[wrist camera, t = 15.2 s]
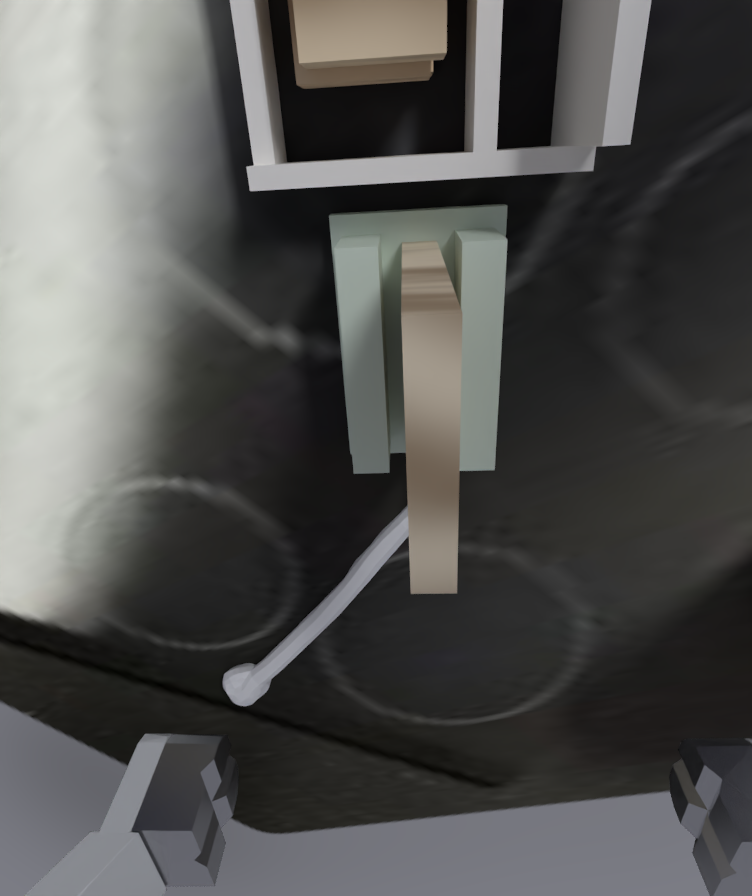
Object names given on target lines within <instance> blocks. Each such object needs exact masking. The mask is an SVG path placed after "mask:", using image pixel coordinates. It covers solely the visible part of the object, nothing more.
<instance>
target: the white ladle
mask: <svg viewBox="0 0 752 896" xmlns="http://www.w3.org/2000/svg"><path fill="white" fill-rule="evenodd" d="M408 536H409V528H408V505H407V506H406V507H405V508H404V509H403V510H402V511H401V513H400V514H399V515H398V516H397V517H396V518H395V519H393V520H392V521H391V522H390V523H389V524H388V525H387V526H386V527H385V528H384V529H383V530H382V531H381V532H380V533H379V535H378V536H377V537H376V538H375V540H374V541H373V542H372V544H371V545H370V546H369V547H368V548H367V549H366V550H365V551H364V552H363V553H362V554H361V555H360V556H359V557H358V558H357V559H356V560H355V562H354V563H353V565H352V567H351V568H350V570H349V571H348V573H347V575H346V576H345V578H344V579H343V580H342V581H341V582H340V583H339V584H338V585H337V586H336V587H335V588H334V589H333V590H332V591H331V592H330V594H329V595H328V596H327V597H326V598H325V599H324V600H323V601H322V602H321V603H320V604H319V605H318V606H317V607H316V608H315V609H314V610H313V611H312V612H310V613H309V614H308V615H307V616H306V617H305V618H304V619H303V620H302V621H301V623H300V624H299V625H298V626H297V627H296V628H295V629H294V630H293V631H292V632H291V633H290V634H289V635H288V636H287V637H286V638H284V639H283V640H282V641H281V642H280V643H279V644H278V645H277V646H276V647H275V648H274V649H273V650H272V651H271V652H270V653H269V654H268V655H267V656H266V657H265V658H264V659H263V660H262V661H260V662H259V663H258V664H256V665H255V664H252V663H244V664H241V665H238V666H235V667H232V668H231V669H230V670H228V671H227V672H226V673H224V677H223V682H222V683H223V688H224V690H225V691H226V693H227V695H228V696H229V697H230V699H231V700H232V702H233V703H235V704H237V705H240V706H248V705H252V704H253V703H254V702H255V701H256V700H257V699H258V698H260V697H261V696H262V695H263V694H265V693H266V692H267V690H268V689H269V686H270V683H271V679H272V678H273V677H274V676H275V675H277V674H278V673H279V672H280V671H281V670H282V669H283V668H285V667H286V666H287V665H288V664H289V663H290V662H291V661H292V660H293V659H294V658H295V657H296V656H297V655H298V654H299V653H300V652H301V651H302V650H303V649H305V648H306V647H307V646H308V645H309V644H310V643H311V642H312V641H313V640H314V639H315V638H316V637H317V636H318V635H319V634H320V633H321V632H322V631H323V630H324V629H325V628H326V627H327V626H328V625H329V624H330V623H332V622H333V621H334V620H335V619H336V618H337V617H338V616H339V615H340V614H341V613H342V611H343V610H344V609H345V608H346V607H347V606H348V605H349V603H350V602H351V601H352V600H353V599H354V598H355V597H356V596H357V594H358V593H359V592H360V591H361V590H362V589H363V588H364V587H365V585H366V584H367V583H368V582H369V581H370V580H371V579H372V577H373V576H374V575H375V574H376V573H377V571H378V570H379V569H380V568H381V567H382V566H383V564H384V563H385V562H386V561H387V560H388V559H389V558H390V556H391V555H392V554H393V553H394V552H395V551H396V550H397V549H398V547H399V546H400V545H401V544H402V543H403V542H404V540H405V539H406V538H407V537H408Z"/></svg>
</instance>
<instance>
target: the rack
mask: <svg viewBox="0 0 752 896" xmlns="http://www.w3.org/2000/svg"><path fill="white" fill-rule="evenodd" d="M230 6H231V12H232V19H233V26H234V33H235V40H236V47H237V54H238V61H239V68H240V74H241V81H242V88H243V95H244V102H245V109H246V116H247V123H248V129H249V136H250V143H251V150H252V157H253V164H254V166H247V167H246V168H247V175H248V182H249V188H250V191H264V190H281V189H298V188H314V187H331V186H348V185H365V184H381V183H398V182H415V181H432V180H448V179H465V178H482V177H498V176H515V175H532V174H549V173H565V172H582V171H593V169H594V160H595V152H596V146H616V145H630V144H631V137H632V130H633V123H634V116H635V109H636V103H637V96H638V89H639V82H640V75H641V68H642V61H643V55H644V48H645V41H646V34H647V27H648V20H649V14H650V7H651V0H563V3H562V15H561V27H560V39H559V51H558V62H557V74H556V86H555V98H554V110H553V121H552V133H551V145H550V146H541V147H526V148H510V149H497V133H498V110H499V87H500V64H501V41H502V18H503V0H467V31H466V85H465V139H464V151H462V152H446V153H430V154H414V155H398V156H383V157H367V158H351V159H335V160H319V161H303V162H287V156H286V148H285V140H284V131H283V123H282V114H281V106H280V98H279V89H278V81H277V72H276V64H275V56H274V47H273V39H272V30H271V22H270V14H269V5H268V0H230Z"/></svg>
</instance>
